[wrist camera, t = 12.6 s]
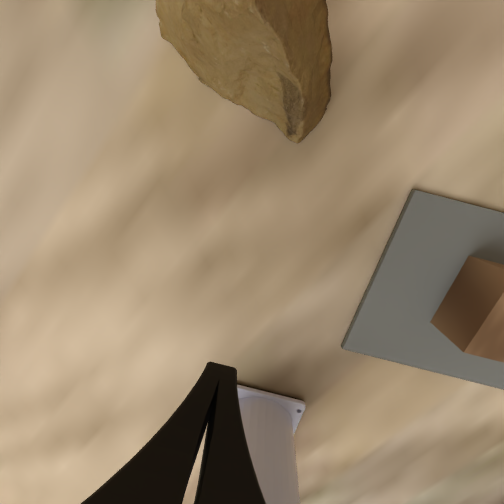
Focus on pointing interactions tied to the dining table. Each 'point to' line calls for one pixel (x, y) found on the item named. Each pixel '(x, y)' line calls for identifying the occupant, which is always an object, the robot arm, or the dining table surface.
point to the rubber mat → (426, 287)
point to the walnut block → (475, 310)
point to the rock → (257, 54)
